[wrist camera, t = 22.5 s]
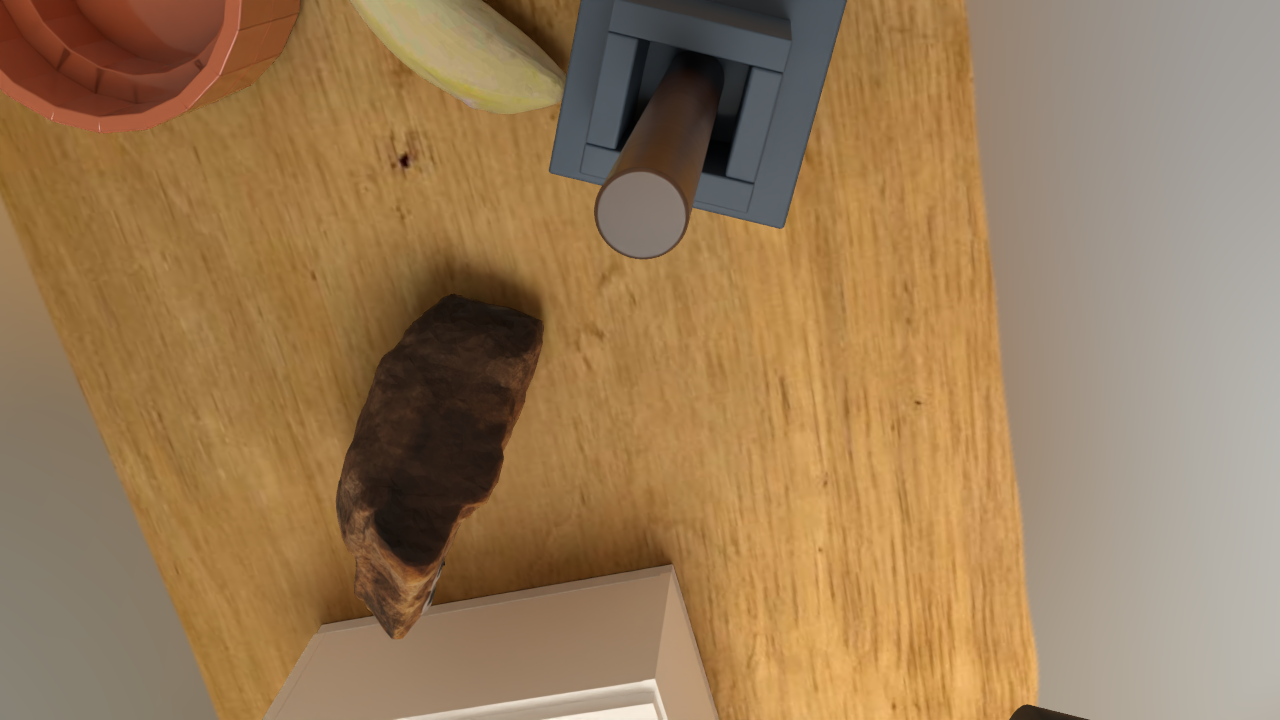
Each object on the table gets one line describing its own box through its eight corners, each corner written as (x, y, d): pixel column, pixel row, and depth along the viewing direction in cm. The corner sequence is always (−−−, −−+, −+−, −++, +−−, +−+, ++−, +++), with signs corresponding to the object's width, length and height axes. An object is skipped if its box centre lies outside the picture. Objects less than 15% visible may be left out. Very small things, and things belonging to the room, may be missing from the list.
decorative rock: (466, 537, 53) (395, 690, 43) (344, 480, 53) (244, 621, 43) (575, 320, 48) (524, 436, 39) (443, 255, 48) (356, 355, 38)
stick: (671, 44, 32) (599, 159, 19) (729, 54, 32) (696, 176, 19) (662, 102, 33) (587, 252, 20) (718, 111, 33) (680, 267, 20)
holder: (643, -92, 42) (570, -73, 27) (832, -47, 42) (862, -3, 27) (604, 99, 45) (519, 209, 30) (781, 141, 45) (783, 274, 30)
